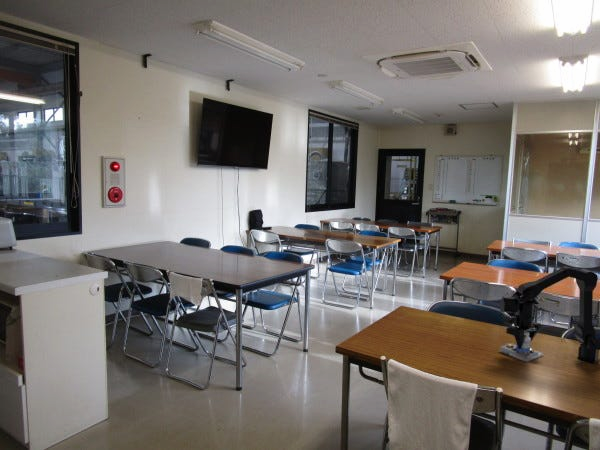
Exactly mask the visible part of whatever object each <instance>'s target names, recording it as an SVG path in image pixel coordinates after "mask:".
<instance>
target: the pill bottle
mask: <svg viewBox="0 0 600 450" xmlns="http://www.w3.org/2000/svg"><path fill="white" fill-rule="evenodd" d="M524 335H526V338H525V341H524V343H523V345H522V348H521V349H519V348H518V346H516V352H519V353H521V354H524V355H528V354H530V348H531V342H532V341H531V338H530V337H529V332H528V331H524Z"/></svg>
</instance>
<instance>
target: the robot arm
mask: <svg viewBox="0 0 600 450" xmlns="http://www.w3.org/2000/svg"><path fill="white" fill-rule="evenodd" d="M598 277H599V276H598V275H597V274H596V273H595V272H593V271H591V270H588V269H585V268H582V269H581V268H580V269H575V268H572V267H568V266H566V265H565V266H561V267H560V268H558V269H557V270H554V271H553V272H551V273H549V274H547V275H545V276H543V277H540V278H539V279H537V280H533V281H527V282H525V283H521V284H520V285H518V287H517V290H516V291H515V293H513V295H512V296H511V297H509V296H508V297H507V296H502V297H501V300H500V302H499V306H498V307H499V311H500V312H501V313H508V314H509V313H510V314H511V313H512V314H515V313H516V314H515V316H510V315H506V316H505V315H504V316H503V319H502V321H503V323H504V324H505V325H506V326H508V327H506V329H505V330H506V331H505V334H508V335H510V336H513V337H514V339H515V342H516V343H515V344H516V345H517V346H518V348H519V349H521V348H522V345H523V343H524V341H525V338H526V335H524V331H528V332H529V337H530V338H531V342H533V340H534V338H535V337H536V336H537V334H538V333H539V332H541V331H543V325H542V323H540V322H537V321H533V320H534V319H535V317H536V316H535V315H534V305H540V304H539V302H538V300H536V297H538V296H539V295H541V293H542V292H543V291H544V290H545V289H548V288H550V287H551V286H553V285H555V284H557V283H559V282H561V281H563V280H565V279H567V278H573V279H575V282H576V285H577V287H578V289H579V301H578V302H579V305H578V306H579V309H578V310H579V313H578V314H579V315H578V319H579V321H578V323H577V324H573V332H572V333H573V334H574V336H575V338H576V339H577V340H578V343H579V347H578V352H577V360H581V361H584V362H587V363H591V364H595V363H598V362H600V358H599V355H600V354H599V353H600V341H599V339H598V337H597V336H598V335H597V332H596V331H597V330H596V328H595V326H594V325H593V315H594V314H593V313H594V312H593V307H594V306H593V301H594V299H593V298H594V297H593V296H594V290H595V288H596V287H597V284H598V280H599V278H598ZM511 325H512V326H511Z"/></svg>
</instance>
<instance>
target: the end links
mask: <svg viewBox="0 0 600 450" xmlns="http://www.w3.org/2000/svg"><path fill="white" fill-rule="evenodd" d="M516 346H517V344H516V343H512V342H511V343H510V342H507V343H505V344H504V345H501V346H499V353H501V354H505V355H507V356H509V357H513V358H515V359H517V360H521V361H524V362H529V361H533V360H536V359H538V358H541V357H543V356H544V353H543V352H540V351H538V350H536V349H535V348H533V347H530V354H528V355H524V354H521V353H519V352H516Z"/></svg>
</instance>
